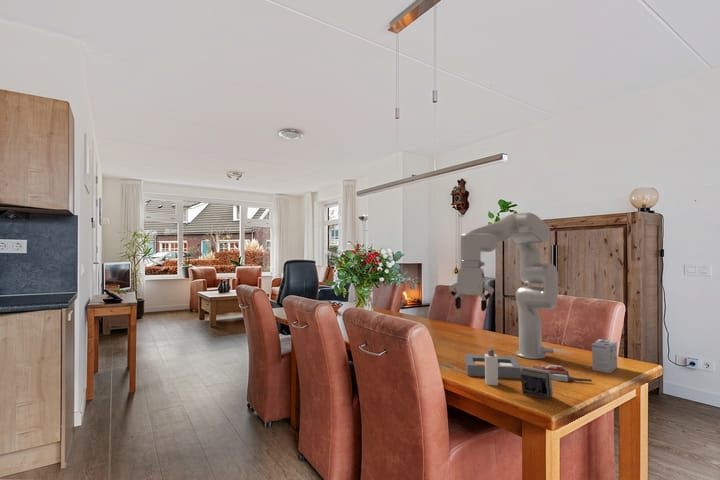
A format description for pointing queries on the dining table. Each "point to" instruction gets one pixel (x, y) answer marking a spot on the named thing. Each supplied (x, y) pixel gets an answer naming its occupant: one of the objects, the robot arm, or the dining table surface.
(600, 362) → the light bulb box
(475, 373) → the socket block
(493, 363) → the white bottle
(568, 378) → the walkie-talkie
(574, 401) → the dining table surface
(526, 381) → the electrical switch
